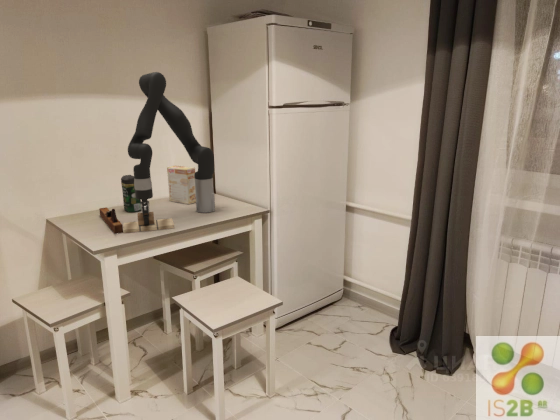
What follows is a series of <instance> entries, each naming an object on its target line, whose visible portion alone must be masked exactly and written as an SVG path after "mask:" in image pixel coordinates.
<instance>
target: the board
mask: <svg viewBox="0 0 560 420" xmlns="http://www.w3.org/2000/svg"><path fill="white" fill-rule="evenodd" d="M154 224H155V225H149V226H139V225H138V221H131V222H123V224H122V225H123V234H130V233H137V232H149V231H159V230H169V229H175V223H174V221H173V218H171V217H170V218H164V219H163V218H161V219H154Z"/></svg>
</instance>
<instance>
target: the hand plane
mask: <svg viewBox="0 0 560 420" xmlns="http://www.w3.org/2000/svg"><path fill="white" fill-rule="evenodd" d="M99 217H100V218H101V219H102V220H103V221H104V223H105V224H106V225H107V227H108V228H109V229H110V230H111V232H113V234H116V235H117V233H118V234H122V233H123V225H124V224H122V222H121V221H119V219H118V218H117V214H116V208H112V209H111V210H110V209H109V208H108V207H100V208H99ZM123 234H124V233H123Z"/></svg>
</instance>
